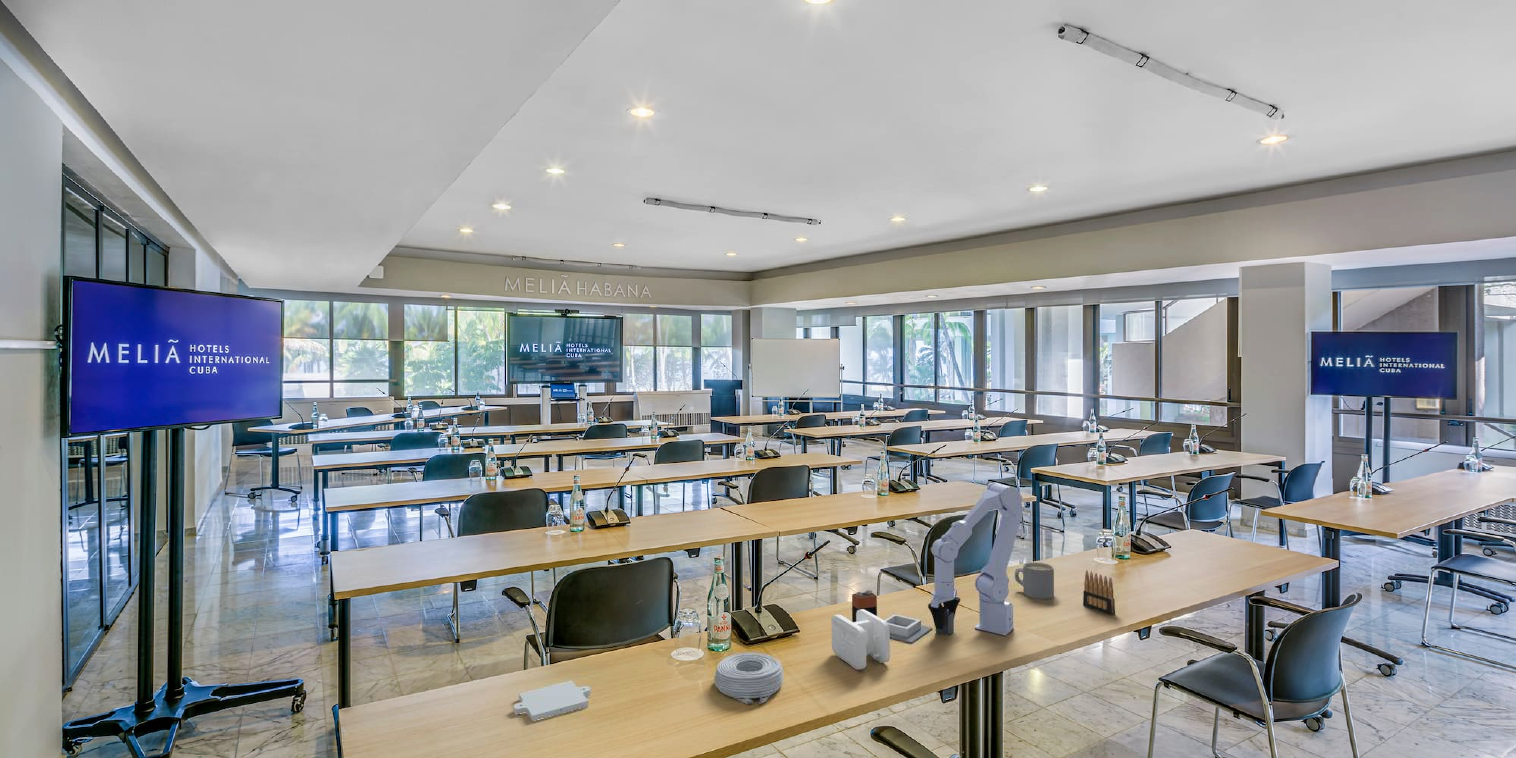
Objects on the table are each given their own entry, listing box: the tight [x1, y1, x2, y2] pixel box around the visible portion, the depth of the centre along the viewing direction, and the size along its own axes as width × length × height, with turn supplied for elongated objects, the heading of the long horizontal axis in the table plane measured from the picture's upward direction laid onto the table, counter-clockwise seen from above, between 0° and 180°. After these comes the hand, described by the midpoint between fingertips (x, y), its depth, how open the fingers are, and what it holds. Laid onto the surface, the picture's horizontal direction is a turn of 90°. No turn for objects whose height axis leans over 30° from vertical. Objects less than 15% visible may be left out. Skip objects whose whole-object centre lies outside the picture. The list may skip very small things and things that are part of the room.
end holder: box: [884, 613, 933, 645], centre depth 208 cm, size 14×14×3 cm
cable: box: [713, 652, 784, 706], centre depth 172 cm, size 18×18×6 cm
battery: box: [851, 589, 878, 622], centre depth 214 cm, size 4×7×10 cm, turn 109°
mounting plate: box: [513, 680, 592, 722], centre depth 164 cm, size 18×13×2 cm
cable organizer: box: [831, 609, 891, 671], centre depth 187 cm, size 15×11×12 cm
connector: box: [935, 609, 955, 637], centre depth 206 cm, size 4×4×7 cm
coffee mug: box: [1014, 561, 1055, 600], centre depth 242 cm, size 13×10×10 cm
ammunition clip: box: [1082, 570, 1116, 616], centre depth 224 cm, size 11×2×12 cm, turn 25°
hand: (944, 624), depth 206 cm, fingers open, 7 cm apart
